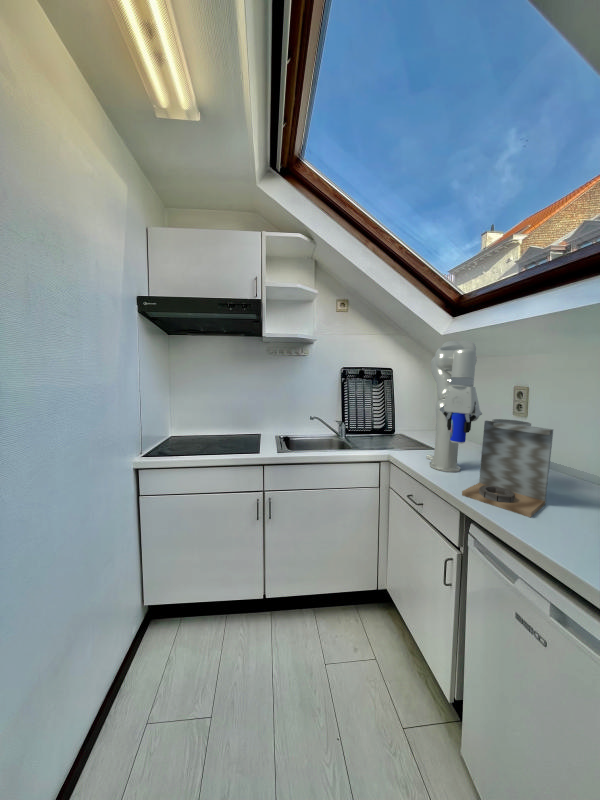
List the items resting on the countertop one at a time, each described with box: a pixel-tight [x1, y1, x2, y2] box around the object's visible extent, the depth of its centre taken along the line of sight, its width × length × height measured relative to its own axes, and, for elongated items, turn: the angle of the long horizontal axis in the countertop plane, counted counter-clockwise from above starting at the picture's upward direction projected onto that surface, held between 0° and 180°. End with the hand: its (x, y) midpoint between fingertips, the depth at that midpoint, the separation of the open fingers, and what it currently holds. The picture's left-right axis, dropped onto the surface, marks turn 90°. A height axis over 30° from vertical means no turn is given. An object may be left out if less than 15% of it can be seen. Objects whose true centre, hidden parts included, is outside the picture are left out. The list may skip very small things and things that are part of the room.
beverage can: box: [450, 413, 467, 445], centre depth 113 cm, size 5×5×15 cm
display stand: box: [461, 420, 554, 518], centre depth 103 cm, size 20×16×26 cm
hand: (458, 430), depth 114 cm, fingers closed on beverage can, 5 cm apart
